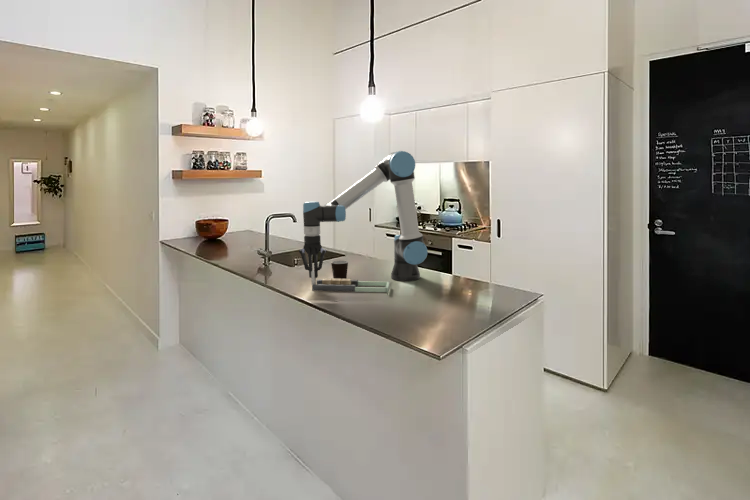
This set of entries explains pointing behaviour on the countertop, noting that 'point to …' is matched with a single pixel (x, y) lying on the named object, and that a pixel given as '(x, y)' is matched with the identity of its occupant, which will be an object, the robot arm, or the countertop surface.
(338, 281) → the tan wooden block
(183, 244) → the countertop surface
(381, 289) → the tray
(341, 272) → the coffee mug
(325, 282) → the tan cubic piece
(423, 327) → the countertop surface
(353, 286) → the slot channel
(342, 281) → the beige cubic piece
